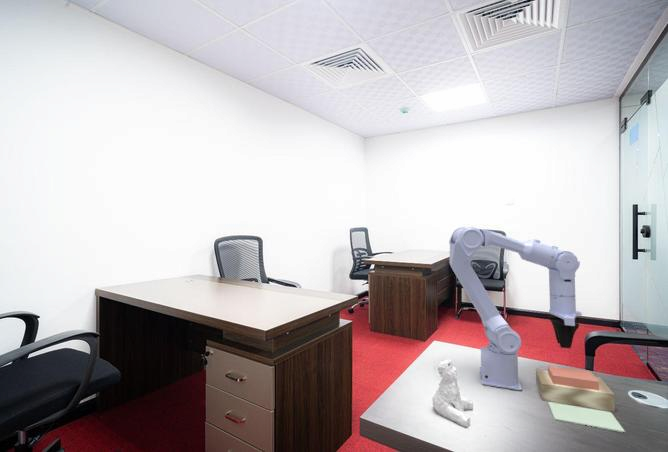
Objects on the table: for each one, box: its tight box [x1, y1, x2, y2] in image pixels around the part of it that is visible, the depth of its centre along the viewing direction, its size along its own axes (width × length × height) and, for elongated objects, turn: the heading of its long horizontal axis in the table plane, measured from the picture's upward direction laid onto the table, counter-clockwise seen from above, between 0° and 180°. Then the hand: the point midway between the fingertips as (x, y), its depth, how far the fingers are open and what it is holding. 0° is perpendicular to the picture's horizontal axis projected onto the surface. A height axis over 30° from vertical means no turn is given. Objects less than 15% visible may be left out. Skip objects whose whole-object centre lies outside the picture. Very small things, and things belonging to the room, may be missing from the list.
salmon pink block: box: [547, 365, 599, 390], centre depth 80 cm, size 9×6×2 cm, turn 66°
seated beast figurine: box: [431, 359, 474, 428], centre depth 74 cm, size 10×9×12 cm
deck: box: [535, 368, 616, 413], centre depth 80 cm, size 14×9×4 cm, turn 66°
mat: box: [547, 401, 626, 434], centre depth 72 cm, size 12×8×1 cm, turn 66°
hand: (563, 345), depth 87 cm, fingers open, 3 cm apart
